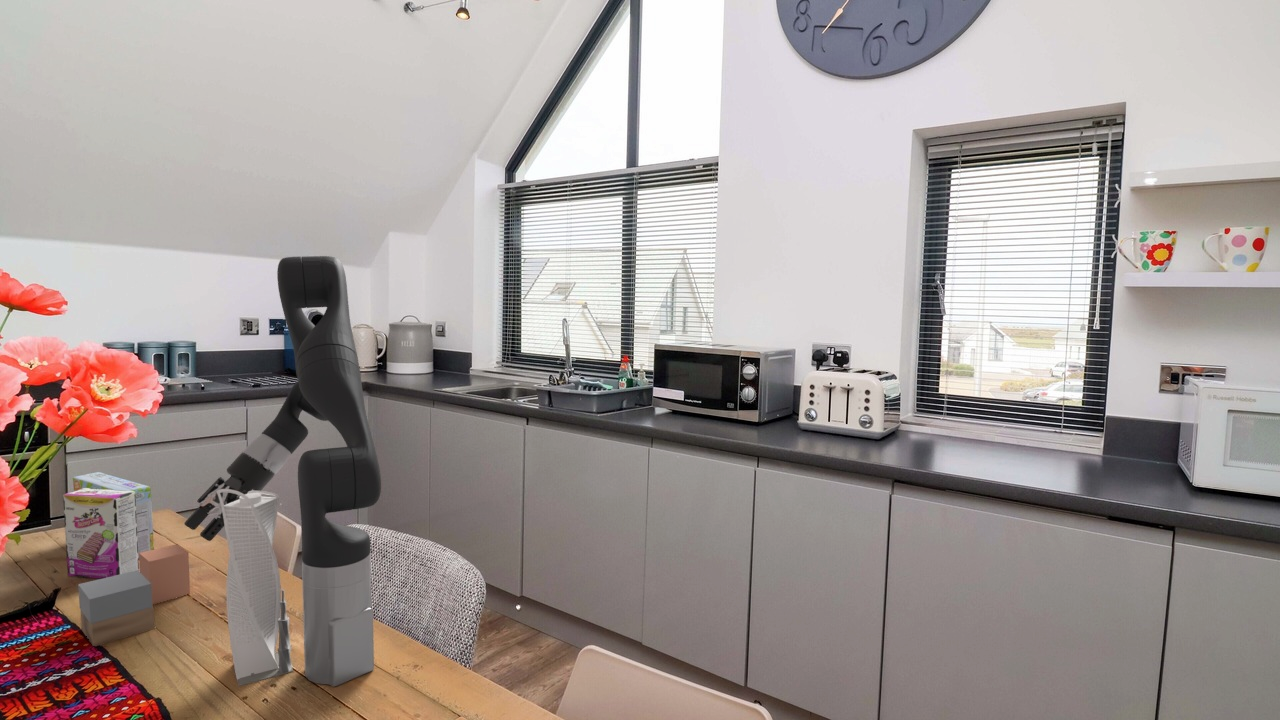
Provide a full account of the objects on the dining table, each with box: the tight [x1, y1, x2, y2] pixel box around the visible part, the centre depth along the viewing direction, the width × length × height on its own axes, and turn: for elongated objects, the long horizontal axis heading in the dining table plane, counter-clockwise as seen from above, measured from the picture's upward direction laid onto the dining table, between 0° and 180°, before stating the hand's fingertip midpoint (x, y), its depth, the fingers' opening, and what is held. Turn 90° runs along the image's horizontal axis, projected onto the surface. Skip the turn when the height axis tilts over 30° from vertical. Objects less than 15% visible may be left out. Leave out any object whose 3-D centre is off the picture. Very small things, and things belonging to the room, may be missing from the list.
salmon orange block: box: [138, 543, 191, 606], centre depth 124 cm, size 6×6×8 cm
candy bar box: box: [62, 488, 140, 579], centre depth 132 cm, size 11×5×16 cm, turn 84°
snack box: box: [72, 471, 155, 561], centre depth 145 cm, size 21×6×15 cm, turn 62°
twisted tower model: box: [217, 489, 294, 687], centre depth 100 cm, size 8×8×28 cm
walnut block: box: [79, 605, 156, 647], centre depth 112 cm, size 8×8×4 cm
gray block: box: [77, 570, 153, 624], centre depth 111 cm, size 8×8×4 cm
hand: (196, 532), depth 128 cm, fingers open, 8 cm apart
